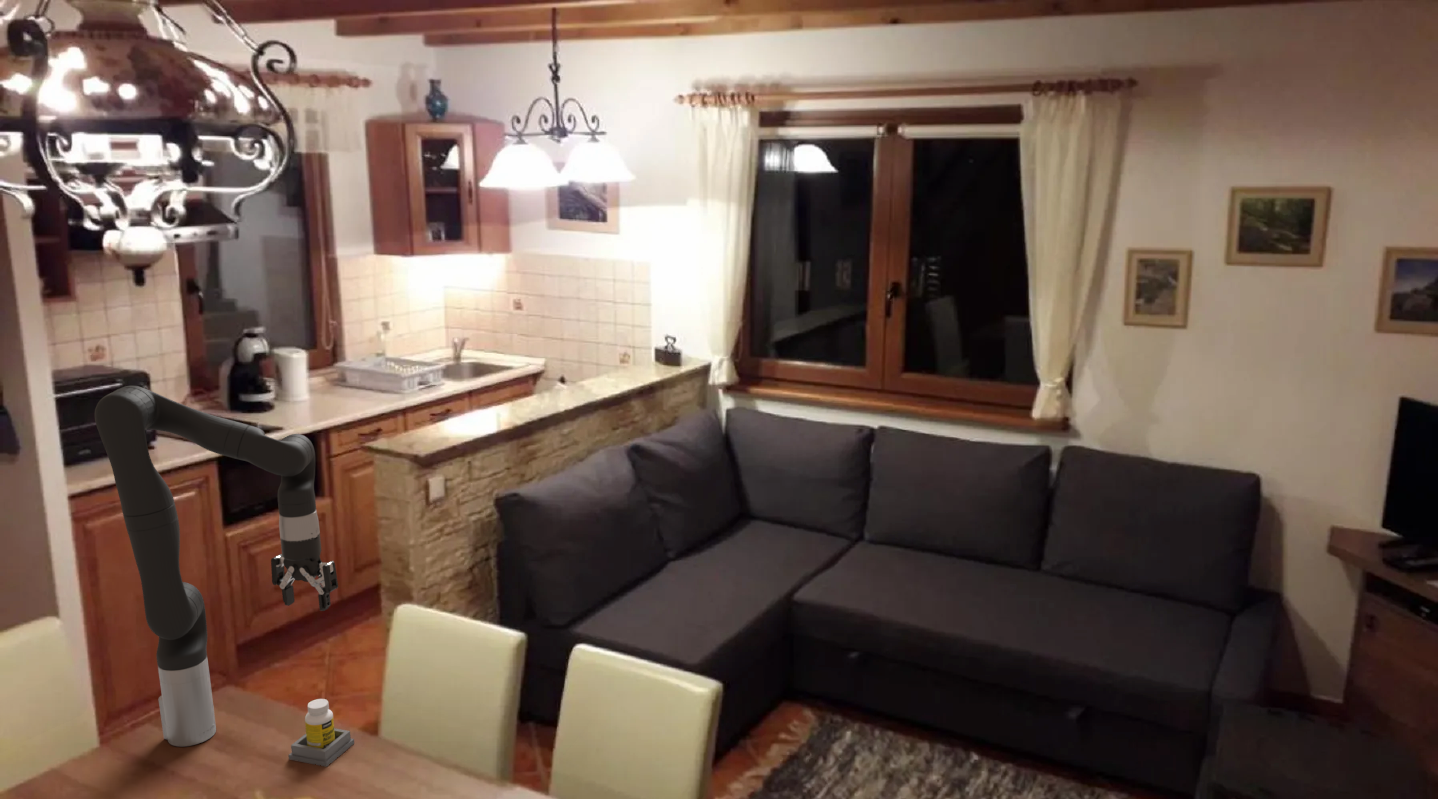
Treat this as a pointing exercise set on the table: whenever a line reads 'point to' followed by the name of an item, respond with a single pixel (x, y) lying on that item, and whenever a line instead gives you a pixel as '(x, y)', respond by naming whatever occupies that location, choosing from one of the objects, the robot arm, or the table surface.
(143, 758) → the table surface
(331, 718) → the supplement bottle
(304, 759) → the square open box
